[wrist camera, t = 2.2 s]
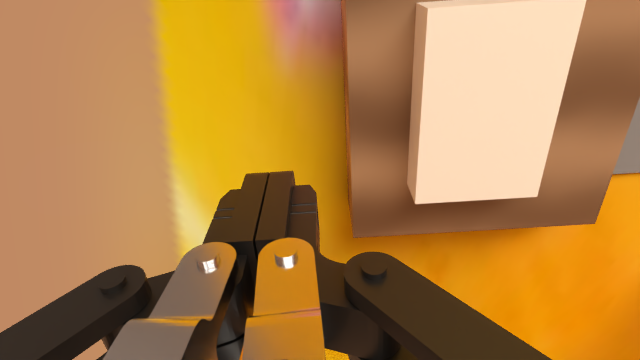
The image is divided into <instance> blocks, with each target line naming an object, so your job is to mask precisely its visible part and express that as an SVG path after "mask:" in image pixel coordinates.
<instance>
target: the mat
mask: <svg viewBox="0 0 640 360" xmlns="http://www.w3.org/2000/svg"><path fill="white" fill-rule="evenodd" d="M624 173H640V98H639V101H638V103H637V106H636V109H635V112H634V115H633V118H632V120H631V123H630V126H629V129H628V132H627V135H626V137H625V140H624V143H623V146H622V149H621V151H620V154H619V157H618V160H617V163H616V166H615V168H614V171H613V174H624Z"/></svg>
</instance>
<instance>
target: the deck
mask: <svg viewBox="0 0 640 360" xmlns="http://www.w3.org/2000/svg"><path fill="white" fill-rule="evenodd" d="M433 1H446V0H341V11H342V38H343V65H344V91H345V118H346V145H347V172H348V199H349V208H350V216H351V224H352V231H353V238H358V237H375V236H393V235H410V234H427V233H444V232H461V231H479V230H496V229H513V228H530V227H547V226H565V225H582V224H595V222H596V219H597V216H598V214H599V211H600V208H601V205H602V202H603V199H604V197H605V194H606V191H607V188H608V185H609V183H610V180H611V177H612V174H613V171H614V168H615V166H616V163H617V160H618V157H619V154H620V151H621V149H622V146H623V143H624V140H625V137H626V135H627V132H628V129H629V126H630V123H631V120H632V118H633V115H634V112H635V109H636V106H637V103H638V101H639V98H640V0H586V4H585V8H584V12H583V16H582V20H581V24H580V28H579V32H578V36H577V40H576V44H575V48H574V52H573V56H572V60H571V64H570V68H569V72H568V76H567V80H566V84H565V88H564V92H563V96H562V100H561V104H560V108H559V112H558V116H557V120H556V124H555V128H554V132H553V136H552V140H551V144H550V148H549V152H548V156H547V160H546V164H545V168H544V171H543V175H542V179H541V183H540V187H539V191H538V195H537V197H526V198H509V199H492V200H476V201H459V202H443V203H426V204H415V203H414V200H413V198H412V195H411V192H410V190H409V187H408V185H407V175H408V155H409V136H410V117H411V97H412V78H413V58H414V39H415V19H416V3H419V2H433Z"/></svg>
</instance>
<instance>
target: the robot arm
mask: <svg viewBox="0 0 640 360" xmlns="http://www.w3.org/2000/svg"><path fill="white" fill-rule="evenodd" d="M319 242H320V237H319V220H318V209H317V197H316V192H315V191H314V190H313V188H312V187H311V186H310V185H299V186H295V178H294V172H293V171H282V172H270V173H269V172H267V173H251V174H246V175H245V178H244V181H243V184H242V187H241V189H236V190H230V191H229V192H228V193H227V194H226V195H224V196H223V197H222V198H221V199H220V202H219V204H218V207H217V211H216V212H215V214H214V217H213V219H212V222H211V224H210V227H209V229H208V232H207V234H206V237H205V239H204V242H203V244H202V245H199V246H197V247H195V248H193V249H192V250H190V251H189V252H188V253H186V254H185V255H184V257H183V258H182V259H181V261H180V263H179V265H178V266H177V268H176V270H175V271H172V272H169V273H165V274H162V275H158V276H155V277H151V278H148V279H147V277H146V275H145V272H144V270H143V269H142V268H140V267H138V266H134V265H123V266H118V267H114V268H111V269H109V270H106V271H104V272H102V273H100V274H99V275H97V276H95V277H94V278H92V279H91V280H89V281H87V282H85V283H83V284H82V285H80V286H78V287H77V288H75V289H73V290H72V291H70V292H68V293H67V294H65V295H63V296H62V297H60V298H58V299H56V300H55V301H53V302H51V303H50V304H48V305H46V306H45V307H43V308H42V309H40V310H38V311H36V312H35V313H33V314H31V315H30V316H28V317H26V318H24V319H23V320H21V321H20V322H18V323H16V324H14V325H13V326H11V327H10V328H8V329H6V330H4V331H3V332H1V333H0V360H72V359H74V358H75V357H76V356H78V355H79V354H81V353H82V352H83V351H85V350H86V349H88V348H89V347H90V346H92V345H93V344H95V343H96V342H98V341H99V340H100V339H102V341H103V343H104V345H105V347H106V349H107V350H108V351H107V352H106V353H105V354H103V355H102V356H101V357H99V358H98V359H97V360H326V357H325V348H326V349H330V350H334V351H338V352H341V353H345V354H348V356H349V359H350V360H552V359H550V358H549V357H547V356H546V355H544V354H542V353H541V352H539V351H538V350H536V349H535V348H533V347H532V346H530V345H529V344H527V343H525V342H524V341H522V340H521V339H519V338H518V337H516V336H515V335H513V334H512V333H510V332H508V331H507V330H505V329H504V328H502V327H501V326H499V325H498V324H496V323H495V322H493V321H491V320H490V319H488V318H487V317H485V316H484V315H482V314H481V313H479V312H478V311H476V310H474V309H473V308H471V307H470V306H468V305H467V304H465V303H464V302H462V301H461V300H459V299H458V298H456V297H454V296H453V295H451V294H450V293H448V292H447V291H445V290H444V289H442V288H441V287H439V286H437V285H436V284H434V283H433V282H431V281H430V280H428V279H427V278H425V277H424V276H422V275H420V274H419V273H417V272H416V271H414V270H413V269H411V268H410V267H408V266H407V265H405V264H403V263H402V262H400V261H399V260H397V259H396V258H394V257H392V256H390V255H388V254H385V253H380V252H365V253H361V254H358V255H356V256H354V257H353V258H351V259H350V260H349V261H348V262H347V263H346V264H343V263H338V262H334V261H331V260H329V259H327V258H325V257H324V256H323V255H322V254H321V253H320V243H319Z"/></svg>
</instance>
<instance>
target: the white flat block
mask: <svg viewBox="0 0 640 360" xmlns="http://www.w3.org/2000/svg"><path fill="white" fill-rule="evenodd" d="M585 4H586V0H446V1H433V2H419V3H416V19H415V39H414V58H413V78H412V97H411V117H410V136H409V155H408V175H407V185H408V187H409V190H410V192H411V195H412V198H413V200H414V203H415V204H426V203H443V202H459V201H476V200H492V199H509V198H526V197H537V195H538V191H539V187H540V183H541V179H542V175H543V171H544V168H545V164H546V160H547V156H548V152H549V148H550V144H551V140H552V136H553V132H554V128H555V124H556V120H557V116H558V112H559V108H560V104H561V100H562V96H563V92H564V88H565V84H566V80H567V76H568V72H569V68H570V64H571V60H572V56H573V52H574V48H575V44H576V40H577V36H578V32H579V28H580V24H581V20H582V16H583V12H584V8H585Z"/></svg>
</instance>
